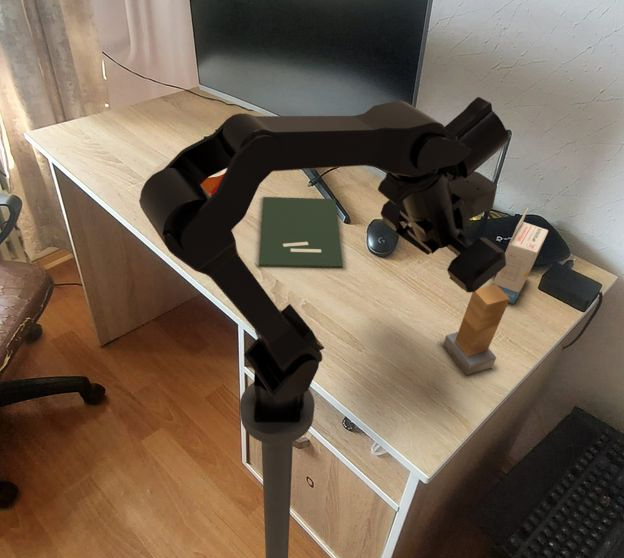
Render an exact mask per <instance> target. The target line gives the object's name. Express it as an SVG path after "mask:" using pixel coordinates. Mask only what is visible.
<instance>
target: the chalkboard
mask: <svg viewBox="0 0 624 558" xmlns="http://www.w3.org/2000/svg"><path fill="white" fill-rule="evenodd" d="M262 198H263V199H262V215H261V228H260V229H261V230H260V243H259V245H260V246H259V258H258V259H259V260H258V266H259V267H276V268H277V267H278V268H279V267H280V268H283V267H284V268H322V269H344V267H343V266H344V264H343V255H342V254H343V253H342V245H341V238H340V229H339V228H340V227H339V220H338V210H337V203H336V199H335V198H311V197H310V198H307V197H276V196H275V197H273V196H263V197H262Z"/></svg>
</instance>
